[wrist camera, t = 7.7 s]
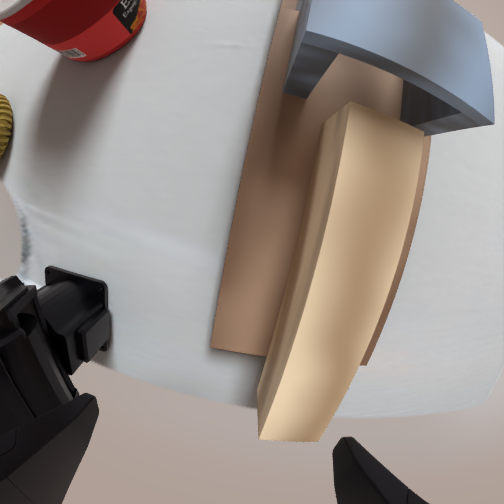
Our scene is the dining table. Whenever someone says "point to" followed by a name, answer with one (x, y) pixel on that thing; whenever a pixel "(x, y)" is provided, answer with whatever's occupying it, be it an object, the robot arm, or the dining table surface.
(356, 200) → the beech bar
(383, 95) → the track
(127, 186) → the dining table surface
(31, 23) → the canned food
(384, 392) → the dining table surface
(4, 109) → the sculpture
